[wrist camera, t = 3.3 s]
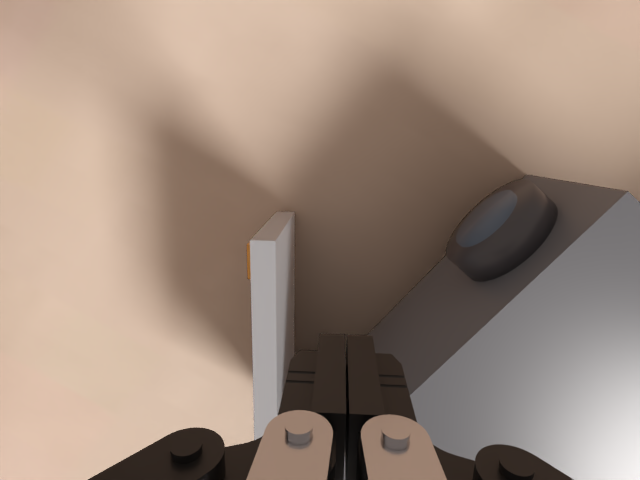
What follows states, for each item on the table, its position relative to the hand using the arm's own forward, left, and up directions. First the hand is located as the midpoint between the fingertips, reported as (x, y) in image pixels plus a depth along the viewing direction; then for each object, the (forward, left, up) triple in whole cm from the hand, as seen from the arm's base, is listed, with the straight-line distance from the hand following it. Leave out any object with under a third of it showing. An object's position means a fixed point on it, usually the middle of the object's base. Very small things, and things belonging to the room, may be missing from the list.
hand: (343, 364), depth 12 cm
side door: (-5, 0, -12) cm, 13 cm away
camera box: (+1, -10, -12) cm, 16 cm away
